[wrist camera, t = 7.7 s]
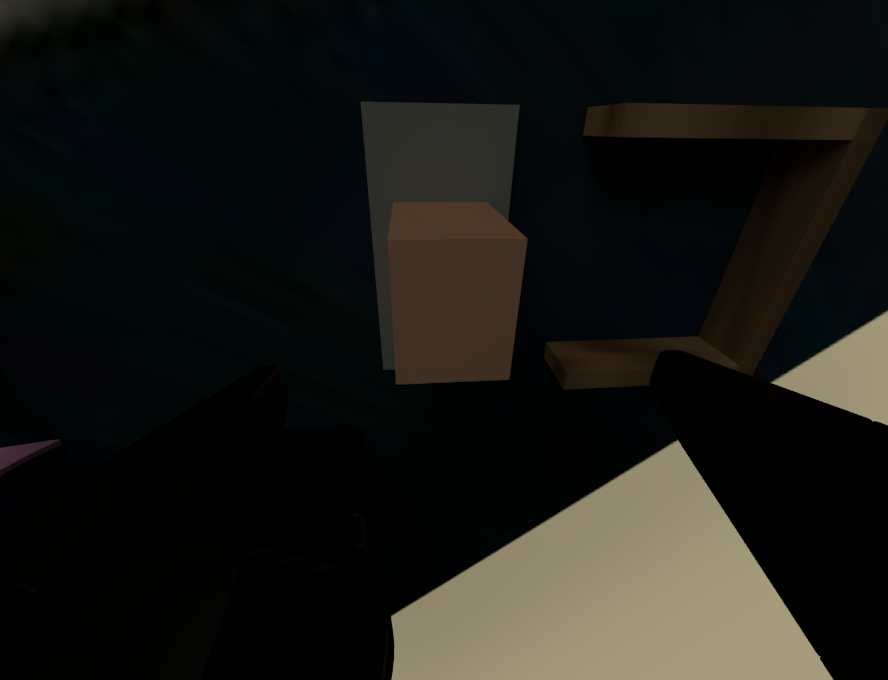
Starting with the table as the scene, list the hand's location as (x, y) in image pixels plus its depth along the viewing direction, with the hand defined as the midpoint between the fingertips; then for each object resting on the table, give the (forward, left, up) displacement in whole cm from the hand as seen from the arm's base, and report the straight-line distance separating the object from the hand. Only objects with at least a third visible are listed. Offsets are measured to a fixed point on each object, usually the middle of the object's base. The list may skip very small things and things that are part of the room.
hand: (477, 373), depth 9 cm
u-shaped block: (+11, 0, -10) cm, 15 cm away
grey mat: (0, 0, -10) cm, 10 cm away
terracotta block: (0, 0, -9) cm, 9 cm away
